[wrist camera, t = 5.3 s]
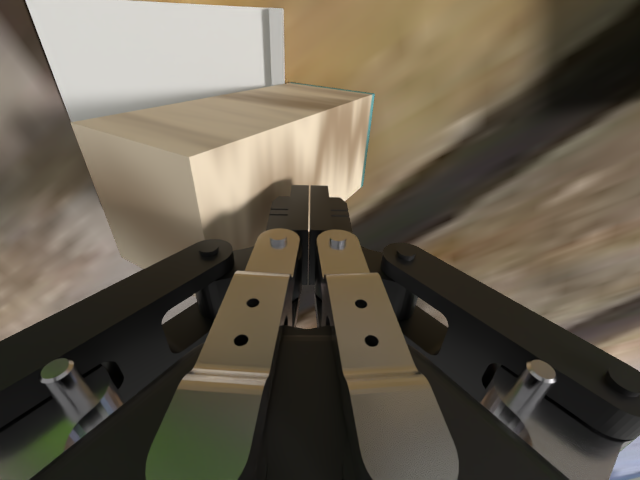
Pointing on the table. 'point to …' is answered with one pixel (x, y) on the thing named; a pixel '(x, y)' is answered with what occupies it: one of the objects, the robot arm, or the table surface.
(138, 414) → the robot arm
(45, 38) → the mat
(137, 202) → the maple block
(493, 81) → the table surface
